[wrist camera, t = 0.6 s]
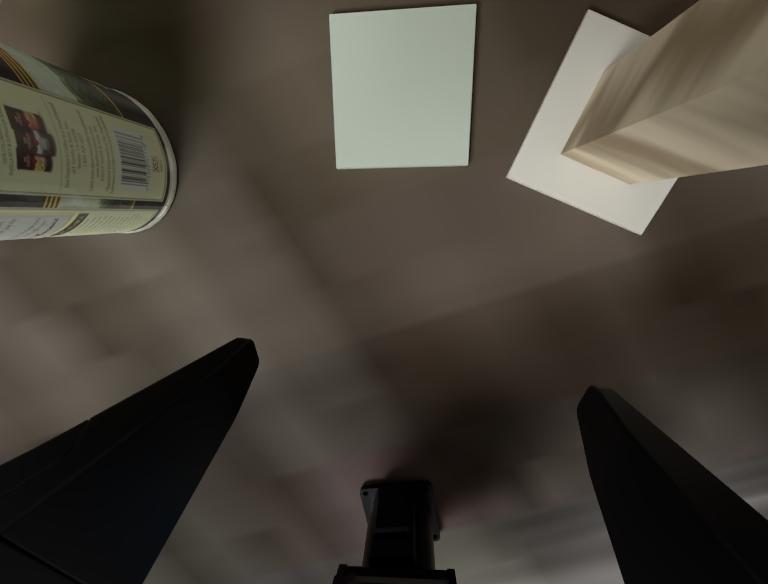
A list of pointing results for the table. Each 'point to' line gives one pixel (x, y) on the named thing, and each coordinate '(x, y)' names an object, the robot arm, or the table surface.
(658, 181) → the white tile
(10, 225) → the coffee can
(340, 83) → the coaster
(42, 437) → the table surface
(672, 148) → the birch block
